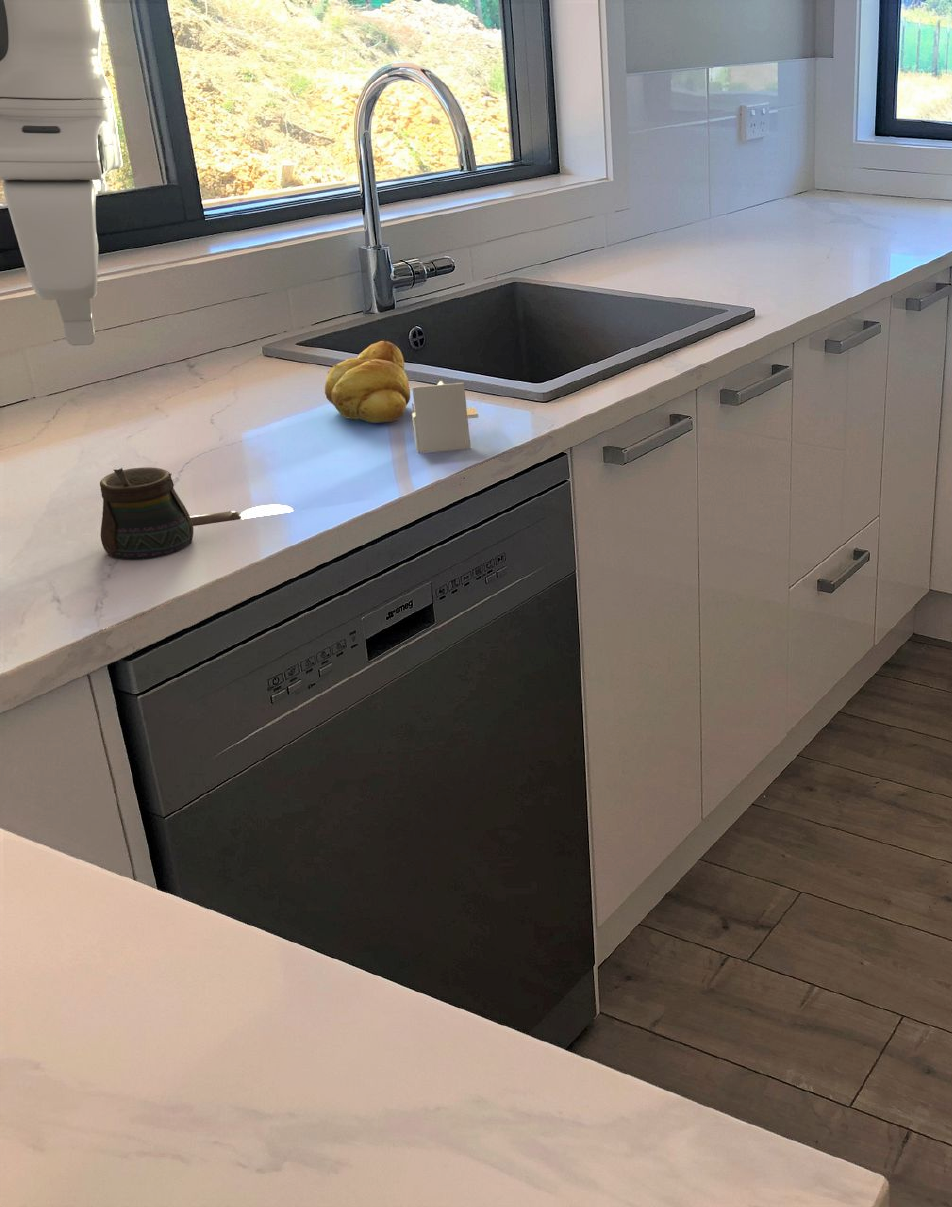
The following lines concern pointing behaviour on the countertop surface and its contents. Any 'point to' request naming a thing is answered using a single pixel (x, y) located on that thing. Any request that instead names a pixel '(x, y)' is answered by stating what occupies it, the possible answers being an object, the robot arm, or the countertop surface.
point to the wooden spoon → (236, 516)
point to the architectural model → (441, 417)
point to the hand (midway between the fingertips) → (81, 341)
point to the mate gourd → (143, 515)
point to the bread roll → (370, 384)
